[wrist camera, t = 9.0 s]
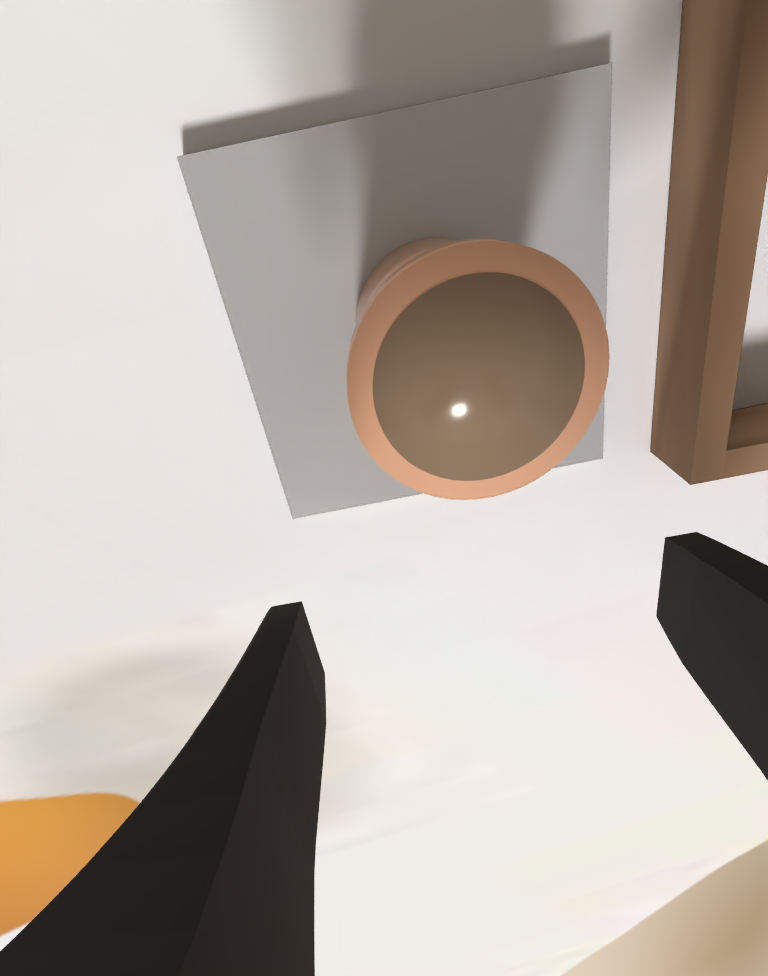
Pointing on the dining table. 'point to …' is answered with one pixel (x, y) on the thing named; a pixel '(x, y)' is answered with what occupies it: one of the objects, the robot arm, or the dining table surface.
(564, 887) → the dining table surface
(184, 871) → the robot arm
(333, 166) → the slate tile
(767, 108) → the cold frame
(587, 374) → the terracotta pot
